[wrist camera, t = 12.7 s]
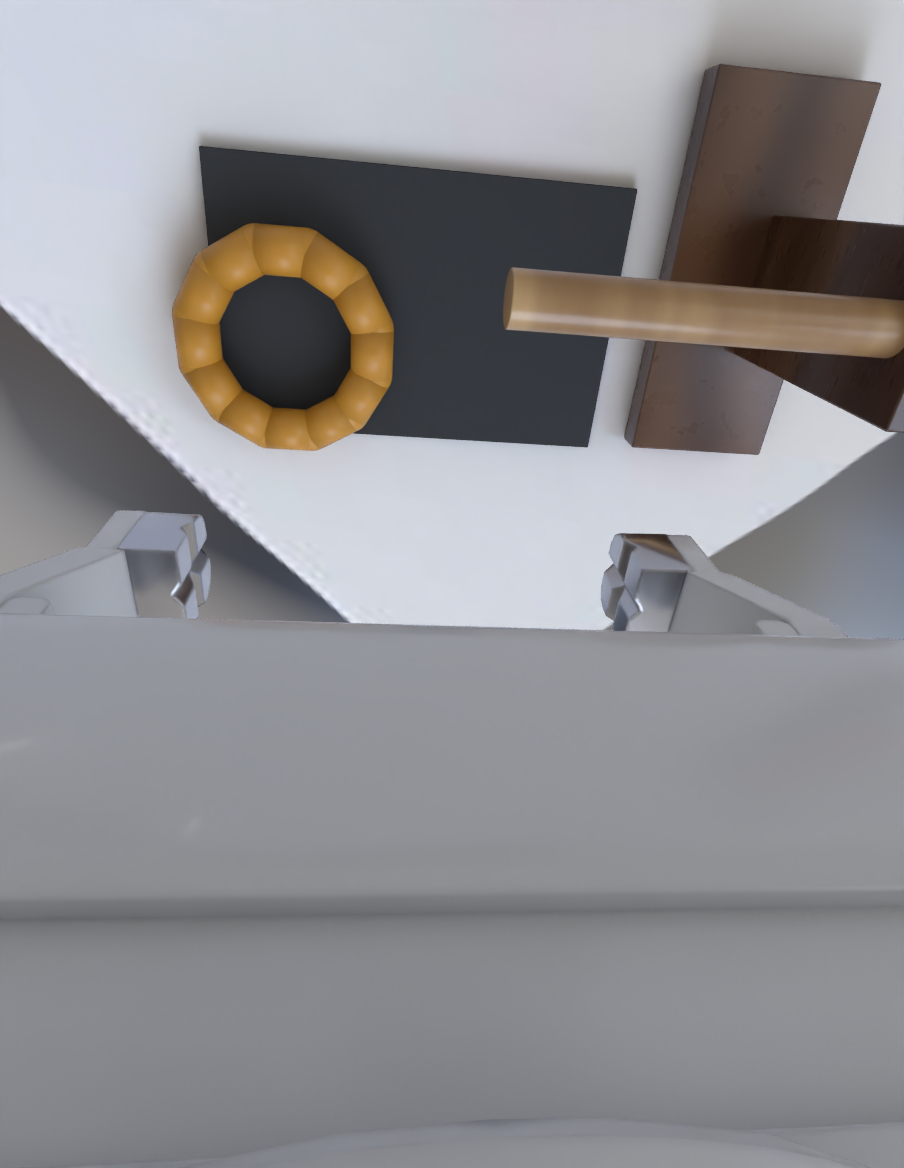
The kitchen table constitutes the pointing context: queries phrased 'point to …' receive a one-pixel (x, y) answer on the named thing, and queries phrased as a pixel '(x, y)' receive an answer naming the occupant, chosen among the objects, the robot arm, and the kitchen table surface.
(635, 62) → the kitchen table surface
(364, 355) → the ring
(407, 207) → the mat
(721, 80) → the rack
